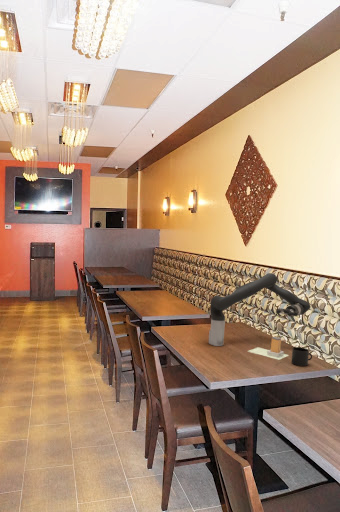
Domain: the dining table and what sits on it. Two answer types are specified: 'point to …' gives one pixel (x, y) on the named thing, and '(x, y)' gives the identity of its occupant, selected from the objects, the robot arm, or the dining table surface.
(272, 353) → the pale green base plate
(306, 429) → the dining table surface
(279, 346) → the orange cylinder
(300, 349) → the mug
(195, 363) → the dining table surface
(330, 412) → the dining table surface
